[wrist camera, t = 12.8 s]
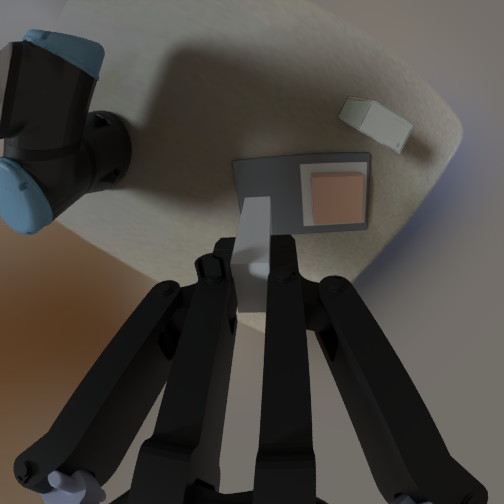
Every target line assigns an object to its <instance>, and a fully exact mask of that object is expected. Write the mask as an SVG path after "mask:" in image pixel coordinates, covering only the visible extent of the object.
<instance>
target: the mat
mask: <svg viewBox="0 0 504 504" xmlns="http://www.w3.org/2000/svg"><path fill="white" fill-rule="evenodd" d="M232 164H233V170H234V176H235V182H236V188H237V194H238V200H239V206H240V212H241V213H242V209H243V204H244V200H245V198H249V197H269V196H270V200H271V217H272V235H288V234H304V233H319V232H335V231H352V230H366V229H367V216H368V201H369V177H370V153H369V152H349V153H317V154H299V155H284V156H272V157H261V158H252V159H243V160H234V161H232ZM358 171H359V172H360V173H361V174H362V175H363V201H362V218H361V222H358V223H339V224H321V225H314V223H313V219H312V191H311V173H324V172H358Z"/></svg>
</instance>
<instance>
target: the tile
mask: <svg viewBox="0 0 504 504" xmlns="http://www.w3.org/2000/svg"><path fill="white" fill-rule="evenodd" d="M311 191H312V219H313V223H314V225H321V224H339V223H358V222H361V218H362V201H363V175H362V174H361V173H360V172H359V171H358V172H324V173H311Z"/></svg>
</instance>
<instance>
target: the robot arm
mask: <svg viewBox="0 0 504 504" xmlns="http://www.w3.org/2000/svg"><path fill="white" fill-rule="evenodd" d="M104 55H105V52H104V48H103V47H102V46H101V45H100V44H99V43H97V42H94V41H91V40H88V39H84V38H81V37H77V36H73V35H68V34H63V33H57V32H50V31H43V30H33V29H32V30H29V31H28V32H27V33H26V34H25V35H24V36H23V41H21V42H9V43H8V44H7V45H6V46H5V47H3V48H2V49H1V50H0V139H3V138H4V151H3V157H0V216H1V217H2V219H3V220H4V221H5V222H6V223H7V224H8V226H9V227H11V228H12V229H13V230H15V231H16V232H18V233H20V234H24V235H33V234H35V233H37V232H38V231H39V230H41V229H42V228H43V227H44V226H47V225H49V224H50V223H51V222H52V221H53V220H54V219H55V218H57V217H58V216H59V215H60V214H61V213H62V212H64V211H65V210H66V209H67V208H68V207H70V206H71V205H72V204H73V203H75V202H76V201H77V200H78V199H80V198H81V197H82V196H83V195H85V194H87V193H93V192H99V191H103V190H106V189H108V188H110V187H112V186H113V185H114V184H116V183H117V182H118V181H120V180H121V179H122V177H123V176H124V175H125V173H126V171H127V169H128V167H129V164H130V159H131V143H130V138H129V135H128V133H127V130H126V128H125V127H124V125H123V124H122V122H121V121H120V120H119V119H118V118H117V117H115V116H114V115H112V114H111V113H108V112H105V111H93V112H89V113H88V110H89V107H90V103H91V99H92V96H93V93H94V89H95V86H96V83H97V81H99V72H100V69H101V65H102V62H103V59H104ZM194 264H195V268H196V271H197V275H198V282H197V283H195V284H192V285H189V286H185V287H180V285H179V284H178V283H177V282H175V281H173V280H167V281H162V282H160V283H158V284H156V285H155V286H154V287H153V288H152V289H151V290H150V292H149V293H148V294H147V295H146V297H145V298H144V299H143V300H142V301H141V303H140V304H139V305H138V307H137V308H136V309H135V310H134V312H133V313H132V314H131V315H130V317H129V318H128V319H127V321H126V322H125V323H124V324H123V326H122V327H121V328H120V330H119V331H118V332H117V334H116V335H115V336H114V337H113V339H112V340H111V341H110V343H109V344H108V345H107V347H106V348H105V349H104V351H103V352H102V354H101V355H100V356H99V358H98V359H97V361H96V362H95V363H94V365H93V366H92V367H91V369H90V370H89V372H88V373H87V374H86V376H85V377H84V379H83V380H82V381H81V383H80V384H79V386H78V387H77V389H76V390H75V392H74V393H73V395H72V396H71V397H70V399H69V401H68V402H67V404H66V405H65V406H64V408H63V409H62V411H61V413H60V414H59V416H58V417H57V419H56V420H55V422H54V423H53V425H52V427H51V428H50V430H49V432H48V433H46V434H45V435H44V436H43V437H42V438H40V439H39V440H38V441H37V442H35V443H34V444H33V445H32V446H30V447H29V448H28V449H26V450H25V451H24V452H22V453H21V454H20V455H19V456H18V457H17V458H16V459H15V462H14V474H15V478H16V479H17V481H18V482H19V483H20V484H21V485H22V486H23V487H25V488H28V489H30V490H32V491H35V492H38V493H39V494H40V496H41V497H42V499H43V501H44V503H45V504H99V503H100V502H102V501H104V500H105V499H106V493H105V491H104V490H103V489H101V487H102V486H103V485H104V484H105V483H106V482H107V481H108V480H109V479H110V477H111V476H112V475H113V474H114V472H115V471H116V470H117V468H118V466H119V465H120V463H121V461H122V460H123V458H124V456H125V454H126V452H127V450H128V449H129V447H130V445H131V443H132V442H133V440H134V438H135V436H136V434H137V433H138V431H139V429H140V427H141V426H142V424H143V421H144V420H145V418H146V417H147V415H148V413H149V411H150V409H151V408H152V406H153V404H154V402H155V401H156V399H157V397H158V395H159V394H160V392H161V390H162V388H163V387H164V385H165V383H166V381H167V384H166V387H165V391H164V395H163V398H162V402H161V406H160V410H159V413H158V417H157V421H156V426H155V429H154V433H153V435H152V436H151V438H149V439H147V440H145V441H144V442H143V444H142V445H141V447H140V450H139V454H138V458H137V462H136V466H135V470H134V474H133V479H132V483H131V488H130V489H129V490H128V491H127V492H125V493H124V494H122V495H121V496H120V497H118V498H117V499H115V500H114V501H112V502H111V503H109V504H328V503H326V502H325V501H323V500H321V499H320V498H318V497H316V463H315V454H314V451H313V441H312V414H311V394H310V376H309V362H308V348H307V336H306V329H307V330H312V331H315V335H316V337H317V340H318V342H319V345H320V347H321V349H322V351H323V354H324V356H325V359H326V361H327V363H328V366H329V368H330V370H331V373H332V375H333V377H334V380H335V382H336V385H337V387H338V389H339V392H340V394H341V397H342V399H343V401H344V404H345V406H346V409H347V411H348V414H349V416H350V419H351V421H352V424H353V426H354V428H355V431H356V434H357V436H358V439H359V441H360V444H361V447H362V449H363V452H364V454H365V457H366V459H367V462H368V465H369V467H370V470H371V473H372V475H373V478H374V480H375V482H376V485H377V487H378V489H379V491H380V493H381V494H382V495H383V497H384V499H385V500H386V501H387V502H388V504H487V501H488V492H487V490H486V488H485V487H484V486H483V485H482V484H481V483H480V482H479V481H478V480H477V479H476V478H474V477H473V476H472V475H471V474H470V473H469V472H468V471H467V470H465V469H464V468H463V467H462V466H461V465H460V464H459V463H458V462H457V461H455V459H453V458H452V457H451V456H450V454H449V452H448V450H447V447H446V445H445V443H444V441H443V439H442V437H441V435H440V433H439V431H438V429H437V427H436V425H435V423H434V421H433V419H432V417H431V415H430V413H429V411H428V409H427V407H426V405H425V404H424V402H423V400H422V398H421V396H420V394H419V393H418V391H417V389H416V387H415V385H414V384H413V382H412V380H411V378H410V377H409V375H408V373H407V371H406V370H405V368H404V366H403V364H402V363H401V361H400V359H399V358H398V356H397V355H396V353H395V351H394V349H393V348H392V346H391V344H390V343H389V341H388V339H387V338H386V336H385V335H384V333H383V331H382V330H381V328H380V327H379V325H378V323H377V322H376V320H375V319H374V317H373V316H372V314H371V312H370V311H369V309H368V308H367V306H366V305H365V303H364V302H363V300H362V299H361V297H360V296H359V294H358V293H357V291H356V290H355V288H354V287H353V285H352V284H351V282H349V281H348V280H347V279H346V278H344V277H341V276H336V275H335V276H328V277H325V278H323V279H322V280H321V281H320V283H317V282H313V281H309V280H307V279H305V278H304V277H302V276H301V274H300V273H299V269H298V261H297V252H296V244H295V239H294V238H293V237H292V236H291V235H290V234H288V235H272V217H271V200H270V196H269V197H249V198H245V200H244V204H243V209H242V213H241V218H240V222H239V226H238V231H237V235H236V237H229V238H221V239H220V240H219V241H218V242H217V243H216V244H215V247H214V251H213V253H209V254H205V255H203V256H201V257H199V258H198V259H197V260H196V261H195V263H194ZM237 307H238V313H239V312H266V327H265V348H264V349H265V350H264V368H263V386H262V403H261V420H260V435H259V448H258V453H257V457H256V465H255V476H254V489H253V491H247V492H241V493H233V494H222V493H219V485H220V467H219V458H220V450H221V442H222V435H223V426H224V419H225V412H226V404H227V396H228V389H229V381H230V373H231V366H232V358H233V350H234V343H235V336H236V329H237V315H236V311H237Z"/></svg>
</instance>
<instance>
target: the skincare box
mask: <svg viewBox="0 0 504 504" xmlns="http://www.w3.org/2000/svg"><path fill="white" fill-rule="evenodd" d="M338 118H339V119H340V120H342V121H343V122H345V123H347V124H348V125H350V126H352V127H353V128H355V129H357V130H358V131H360V132H362V133H363V134H365V135H367V136H369V137H370V138H372V139H374V140H375V141H377V142H379V143H381V144H382V145H384V146H386V147H387V148H389V149H391V150H393V151H394V152H396V153H398V154H400V152H401V150H402V149H403V147H404V145H405V143H406V141H407V139H408V137H409V135H410V133H411V130H412V128H413V125H412V124H411V123H409V122H408V121H407V120H405V119H404V118H402V117H401V116H399V115H398V114H396V113H395V112H393V111H392V110H390V109H388V108H387V107H385V106H383V105H381V104H380V103H378V102H376V101H374V100H369V99H364V98H358V97H352V96H348V98H347V100H346V102H345V104H344V106H343V108H342V110H341V113H340V115H339V117H338Z"/></svg>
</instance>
